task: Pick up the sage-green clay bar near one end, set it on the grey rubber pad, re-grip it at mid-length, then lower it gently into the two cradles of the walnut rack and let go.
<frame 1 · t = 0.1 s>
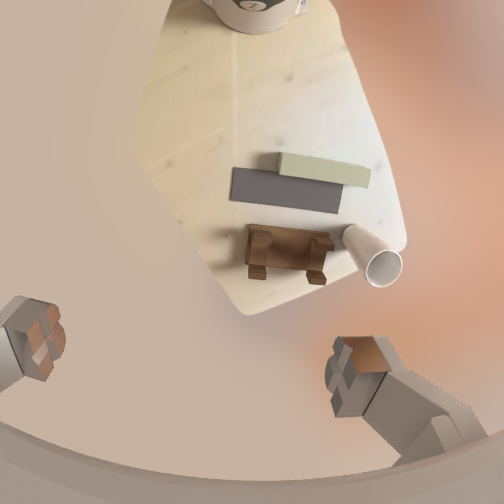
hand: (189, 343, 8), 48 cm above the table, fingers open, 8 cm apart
drinking glass: (353, 235, 59), on the table
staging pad: (288, 190, 55), on the table
clay strip: (321, 167, 53), on the table
rack: (286, 247, 59), on the table
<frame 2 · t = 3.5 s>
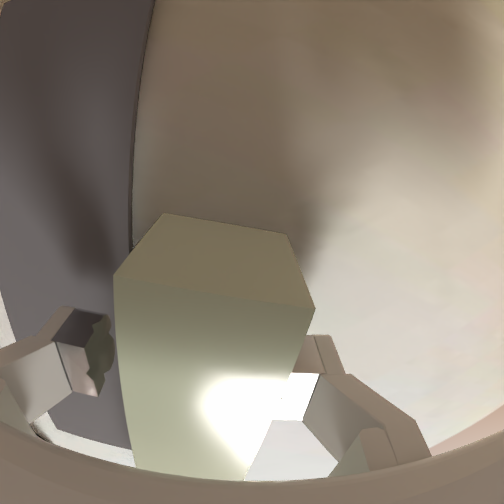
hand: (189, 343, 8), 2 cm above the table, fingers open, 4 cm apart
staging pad: (56, 277, 9), on the table
clay strip: (196, 403, 12), on the table, touching gripper
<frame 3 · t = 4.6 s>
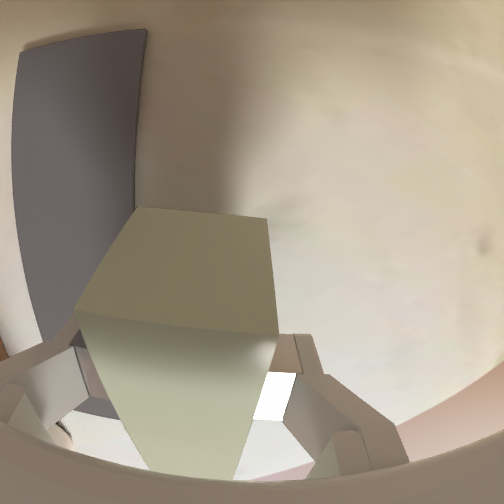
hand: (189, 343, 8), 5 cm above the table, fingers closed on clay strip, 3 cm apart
drinking glass: (47, 427, 17), on the table
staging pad: (76, 272, 12), on the table
clay strip: (197, 381, 12), point 2 cm above the table, tilted 12°, touching gripper
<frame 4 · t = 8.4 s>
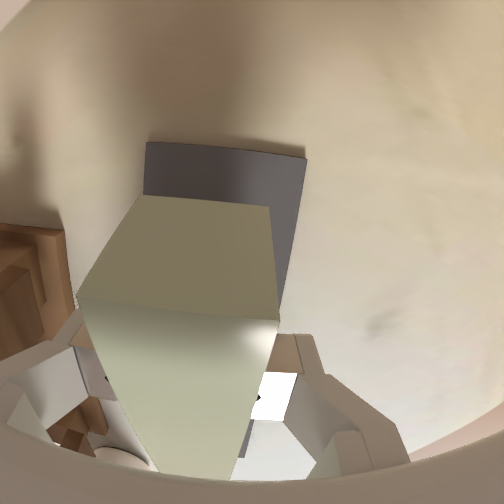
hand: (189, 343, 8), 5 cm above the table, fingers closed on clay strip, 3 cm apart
drinking glass: (122, 458, 20), on the table
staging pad: (207, 357, 15), on the table
clay strip: (199, 370, 13), point 2 cm above the table, tilted 12°, touching gripper
rack: (33, 341, 15), on the table
when the fingers open (3 cm above the table, at t = 9.3 s): clay strip stays where it is, resting on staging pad.
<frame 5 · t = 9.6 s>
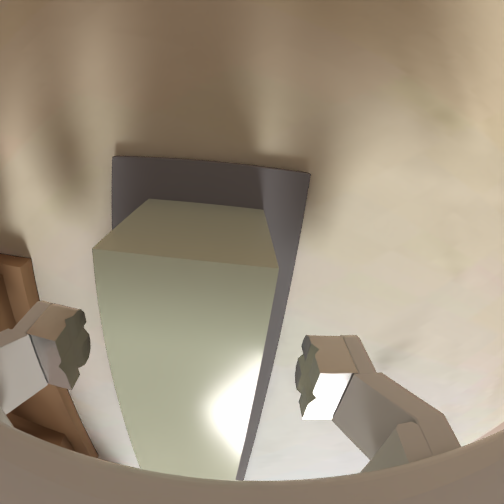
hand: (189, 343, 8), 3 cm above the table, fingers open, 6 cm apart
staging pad: (196, 395, 13), on the table
clay strip: (196, 389, 12), resting on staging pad
rack: (13, 370, 12), on the table
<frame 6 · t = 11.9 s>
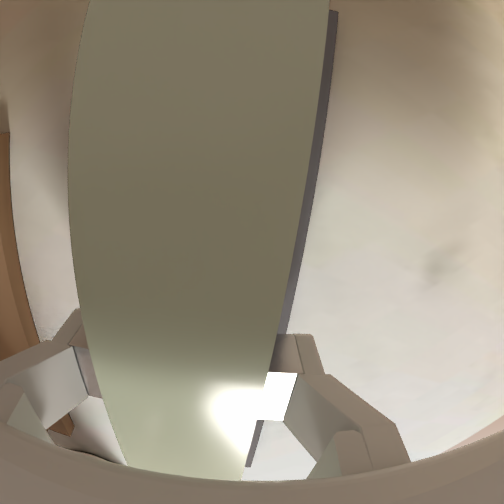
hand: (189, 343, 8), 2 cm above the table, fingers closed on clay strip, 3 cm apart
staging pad: (196, 318, 10), on the table
clay strip: (196, 304, 9), resting on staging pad, touching gripper
when the fingers open (5 cm above the table, at t = 17.5 s): clay strip stays where it is, resting on rack.
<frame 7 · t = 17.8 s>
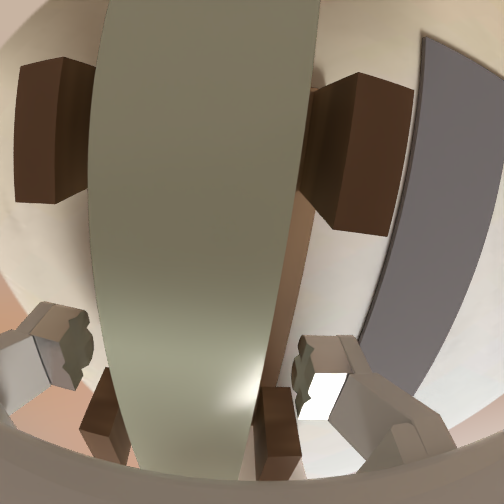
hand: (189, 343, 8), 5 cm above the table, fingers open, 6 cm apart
drinking glass: (258, 436, 18), on the table
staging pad: (437, 255, 13), on the table
clay strip: (199, 295, 10), point 3 cm above the table, touching rack
rack: (205, 262, 13), on the table
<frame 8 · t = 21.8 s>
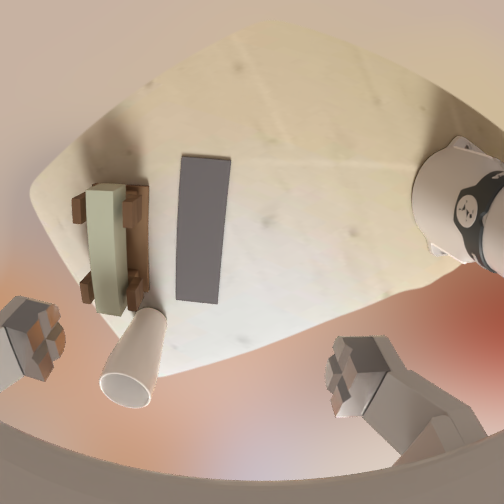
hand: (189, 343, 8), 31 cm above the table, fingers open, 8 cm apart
drinking glass: (151, 319, 45), on the table
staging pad: (200, 235, 40), on the table
clay strip: (114, 245, 37), point 3 cm above the table, touching rack
rack: (121, 238, 39), on the table
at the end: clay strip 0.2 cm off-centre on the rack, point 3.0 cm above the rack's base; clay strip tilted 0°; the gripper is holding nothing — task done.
